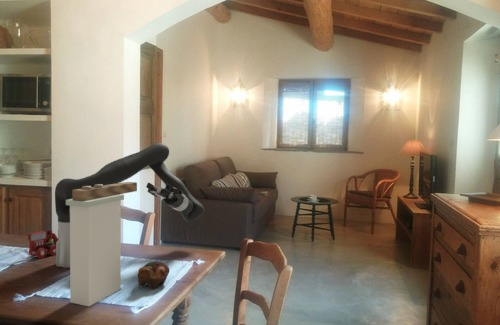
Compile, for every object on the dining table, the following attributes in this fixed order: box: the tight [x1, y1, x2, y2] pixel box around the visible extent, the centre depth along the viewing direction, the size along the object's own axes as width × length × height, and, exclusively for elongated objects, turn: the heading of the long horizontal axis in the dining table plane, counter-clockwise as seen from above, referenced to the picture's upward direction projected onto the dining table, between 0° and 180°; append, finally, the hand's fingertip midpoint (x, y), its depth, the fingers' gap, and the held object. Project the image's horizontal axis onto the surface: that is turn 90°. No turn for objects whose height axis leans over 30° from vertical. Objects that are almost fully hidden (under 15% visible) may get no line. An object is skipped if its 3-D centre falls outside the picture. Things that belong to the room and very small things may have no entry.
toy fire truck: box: [27, 229, 58, 259], centre depth 159 cm, size 7×12×10 cm, turn 147°
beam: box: [72, 181, 138, 201], centre depth 123 cm, size 25×4×4 cm, turn 160°
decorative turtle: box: [137, 261, 170, 290], centre depth 129 cm, size 10×15×8 cm, turn 165°
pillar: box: [66, 194, 125, 307], centre depth 119 cm, size 16×8×31 cm, turn 160°
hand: (157, 185), depth 149 cm, fingers open, 8 cm apart
